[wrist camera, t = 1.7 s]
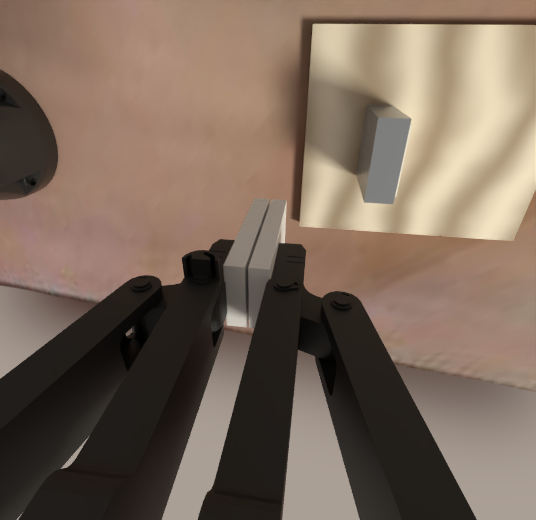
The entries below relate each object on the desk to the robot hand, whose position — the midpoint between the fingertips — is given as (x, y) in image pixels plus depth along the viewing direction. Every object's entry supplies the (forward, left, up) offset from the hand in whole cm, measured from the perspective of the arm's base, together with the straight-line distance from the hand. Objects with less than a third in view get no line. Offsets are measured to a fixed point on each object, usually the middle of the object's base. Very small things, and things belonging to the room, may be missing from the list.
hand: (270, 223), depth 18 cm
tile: (+8, 0, -21) cm, 23 cm away
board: (+13, 0, -22) cm, 26 cm away
